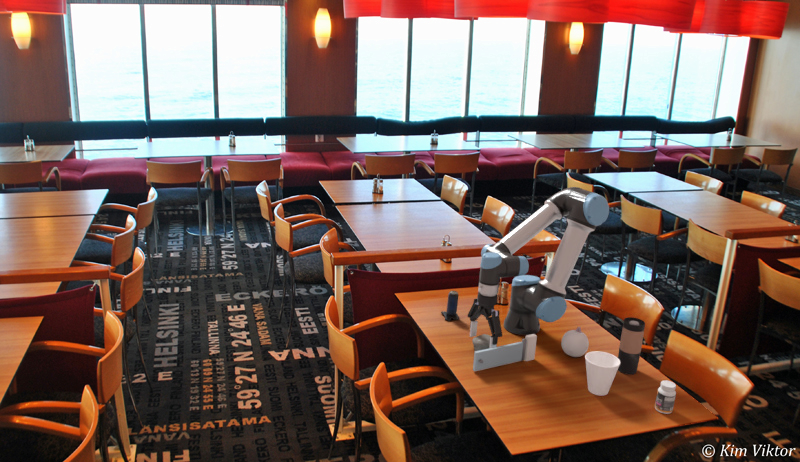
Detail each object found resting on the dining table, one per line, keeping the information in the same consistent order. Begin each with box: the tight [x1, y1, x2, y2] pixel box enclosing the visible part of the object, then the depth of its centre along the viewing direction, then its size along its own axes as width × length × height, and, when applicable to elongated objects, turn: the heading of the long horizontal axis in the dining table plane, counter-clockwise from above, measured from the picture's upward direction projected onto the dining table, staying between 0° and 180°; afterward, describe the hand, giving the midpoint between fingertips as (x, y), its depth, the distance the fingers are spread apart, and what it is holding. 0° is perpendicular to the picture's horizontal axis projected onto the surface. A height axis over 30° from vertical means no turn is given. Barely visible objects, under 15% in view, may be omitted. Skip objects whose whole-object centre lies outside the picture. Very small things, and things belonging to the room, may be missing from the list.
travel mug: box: [617, 316, 646, 375], centre depth 234 cm, size 8×8×20 cm
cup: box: [584, 350, 621, 397], centre depth 220 cm, size 12×12×12 cm
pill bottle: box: [654, 379, 677, 415], centre depth 210 cm, size 6×6×10 cm
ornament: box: [560, 326, 590, 358], centre depth 245 cm, size 10×10×12 cm
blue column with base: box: [440, 290, 461, 322], centre depth 274 cm, size 9×8×12 cm
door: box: [472, 338, 526, 372], centre depth 234 cm, size 23×3×8 cm, turn 117°
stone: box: [472, 333, 498, 352], centre depth 245 cm, size 9×9×10 cm
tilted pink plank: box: [524, 334, 538, 362], centre depth 240 cm, size 4×2×10 cm, turn 117°
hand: (482, 343), depth 245 cm, fingers open, 13 cm apart
